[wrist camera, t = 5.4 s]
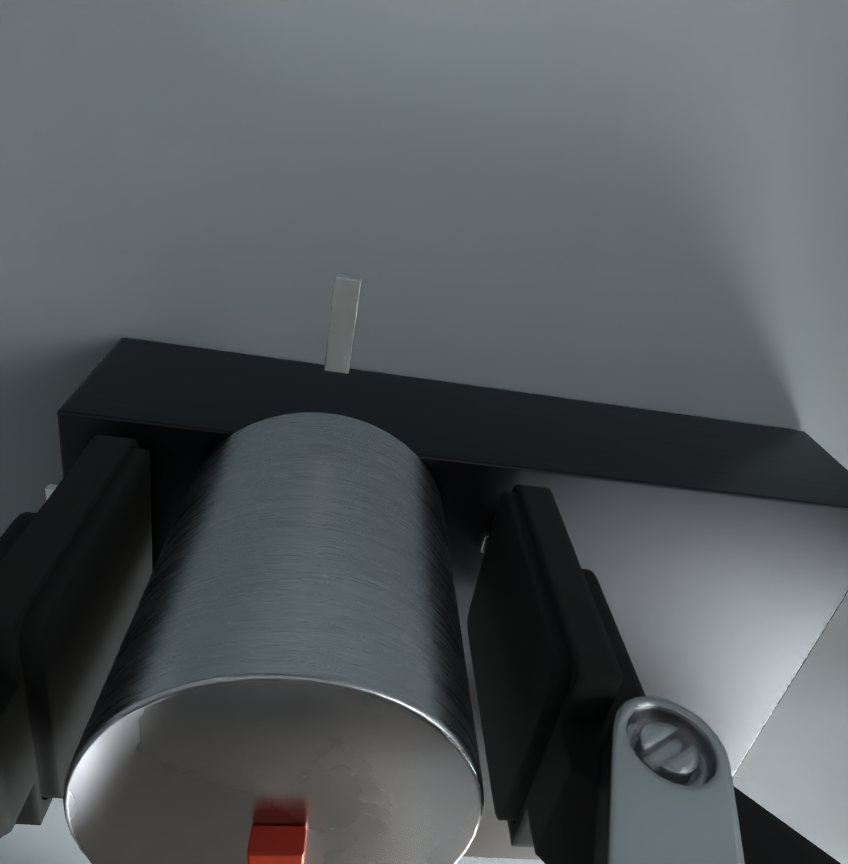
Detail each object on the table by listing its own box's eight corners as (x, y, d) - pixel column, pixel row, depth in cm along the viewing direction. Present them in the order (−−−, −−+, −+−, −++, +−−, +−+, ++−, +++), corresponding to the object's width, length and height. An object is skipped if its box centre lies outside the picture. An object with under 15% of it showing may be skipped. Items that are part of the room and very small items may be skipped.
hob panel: (128, 726, 18) (82, 849, 15) (103, 184, 11) (16, 226, 9) (638, 758, 20) (680, 873, 17) (865, 311, 13) (993, 379, 11)
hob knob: (178, 400, 10) (9, 699, 5) (459, 420, 10) (524, 711, 6) (193, 612, 12) (79, 962, 7) (428, 621, 13) (459, 955, 8)
